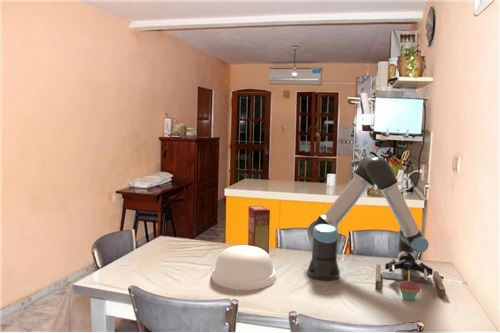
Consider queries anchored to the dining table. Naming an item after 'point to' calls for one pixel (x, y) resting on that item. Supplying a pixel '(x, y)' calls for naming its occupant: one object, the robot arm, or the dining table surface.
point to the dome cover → (244, 268)
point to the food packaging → (258, 227)
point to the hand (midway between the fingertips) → (409, 274)
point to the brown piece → (415, 279)
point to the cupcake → (409, 288)
